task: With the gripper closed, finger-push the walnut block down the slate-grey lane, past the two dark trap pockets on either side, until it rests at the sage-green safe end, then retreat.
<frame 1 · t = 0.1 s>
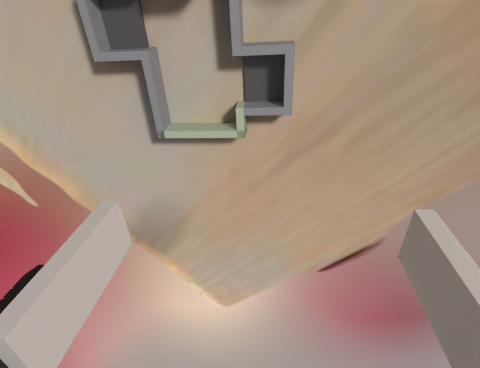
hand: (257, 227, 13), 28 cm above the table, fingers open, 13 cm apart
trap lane: (194, 36, 35), on the table
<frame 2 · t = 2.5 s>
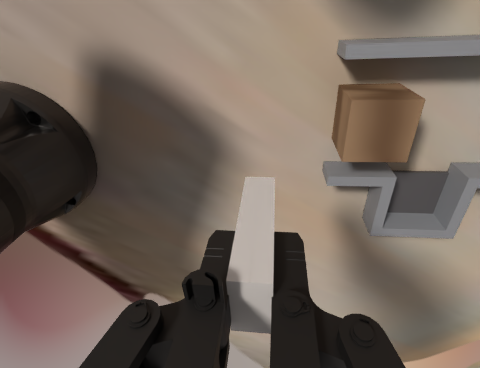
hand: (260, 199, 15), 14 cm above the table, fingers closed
walnut block: (363, 112, 26), on the table
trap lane: (458, 111, 25), on the table
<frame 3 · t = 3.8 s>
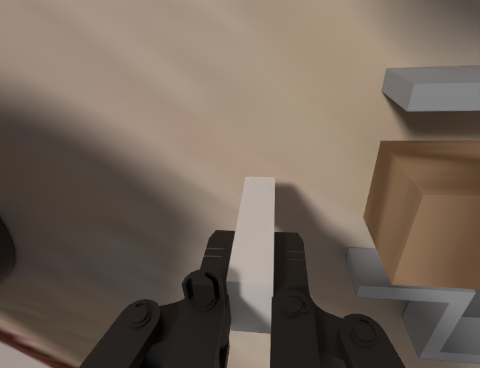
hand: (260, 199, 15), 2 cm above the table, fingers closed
walnut block: (418, 182, 16), on the table
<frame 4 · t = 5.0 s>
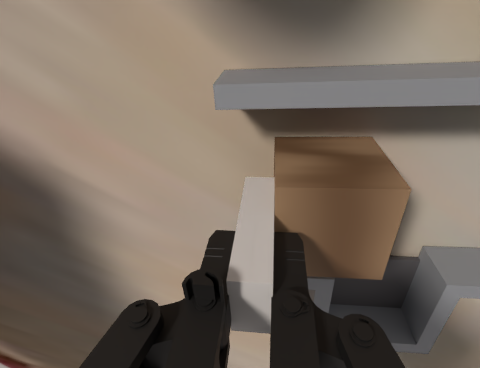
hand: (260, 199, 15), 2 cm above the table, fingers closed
walnut block: (317, 177, 16), on the table, touching gripper
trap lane: (430, 179, 16), on the table
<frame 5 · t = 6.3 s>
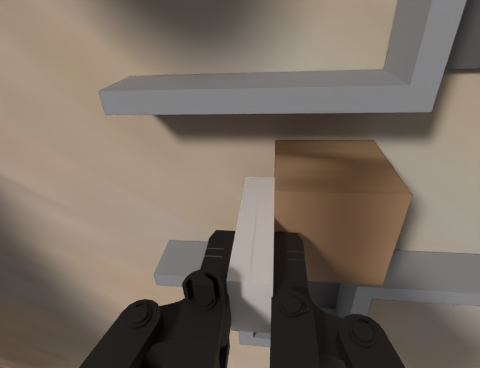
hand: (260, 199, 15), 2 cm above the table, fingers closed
walnut block: (318, 180, 16), on the table, touching gripper
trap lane: (341, 182, 16), on the table
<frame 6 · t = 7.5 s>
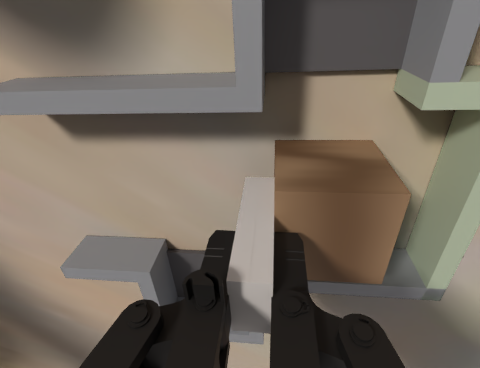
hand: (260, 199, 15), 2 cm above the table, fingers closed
walnut block: (318, 180, 16), on the table, touching gripper
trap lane: (230, 179, 17), on the table
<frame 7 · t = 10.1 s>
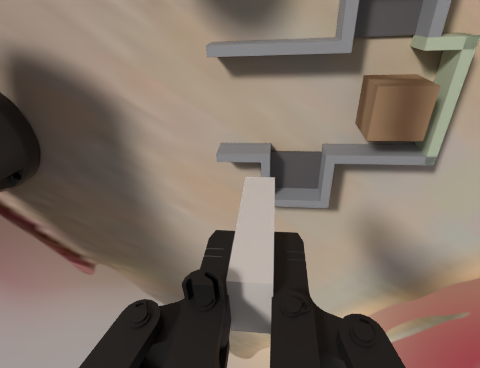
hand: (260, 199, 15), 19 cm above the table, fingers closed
walnut block: (384, 99, 30), on the table
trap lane: (318, 100, 30), on the table
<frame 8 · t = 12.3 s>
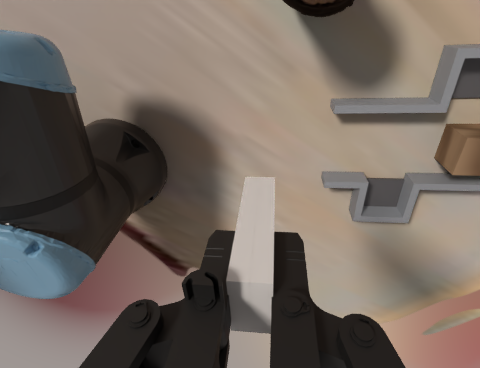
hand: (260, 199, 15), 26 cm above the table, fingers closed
walnut block: (459, 141, 39), on the table
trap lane: (407, 141, 39), on the table
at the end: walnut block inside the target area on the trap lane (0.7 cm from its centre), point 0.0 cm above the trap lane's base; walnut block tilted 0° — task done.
